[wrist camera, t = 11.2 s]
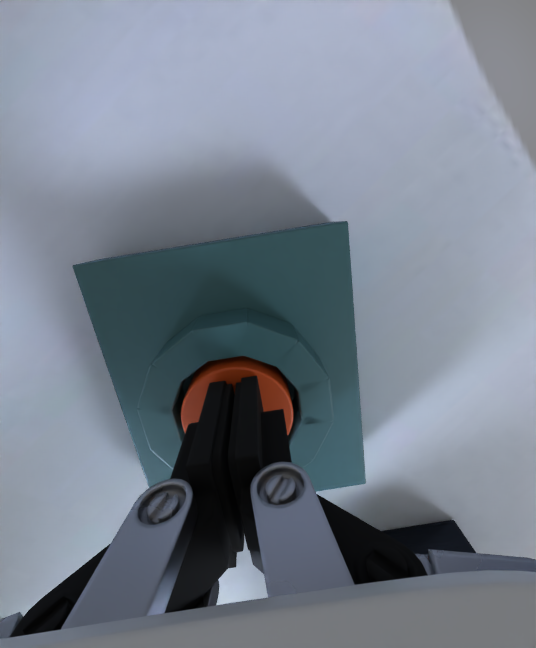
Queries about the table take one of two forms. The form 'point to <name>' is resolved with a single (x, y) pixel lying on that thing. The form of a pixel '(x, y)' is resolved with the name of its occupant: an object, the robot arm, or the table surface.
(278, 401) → the button
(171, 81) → the table surface
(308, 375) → the button housing
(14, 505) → the table surface
